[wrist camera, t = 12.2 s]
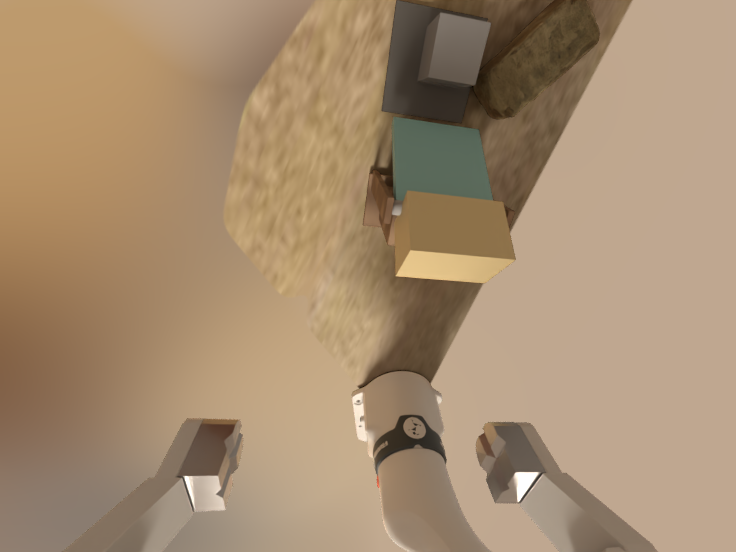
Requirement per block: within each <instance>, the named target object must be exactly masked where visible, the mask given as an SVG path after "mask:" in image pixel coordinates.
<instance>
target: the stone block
mask: <svg viewBox="0 0 736 552" xmlns="http://www.w3.org/2000/svg"><path fill="white" fill-rule="evenodd" d="M599 34H600V33H599V28H598V25H597V23H596V20H595V16H594V14H593V13H592V12H591V10H590V7H589V5H588V3H587V1H586V0H554V1H553V2H552V3H551V4H550V5H549V6H548V7H547V8H545V9H544V10H543V11H542V12H541V13H540V14H539V15H538V16H537V17H536V18H535V19H534V20H533V21H532V22H531V23H530V24H529V25H528V26H527V27H526V28H525V29H524V30H523V31H522V32H521V33H520V34H519V35H518V36H516V37H515V39H514V40H513V41H512V42H511V43H510V44H509V45H508V46H506V47H505V48H504V49H503V50H502V51H501V52H500V53H499V54H498V55H497V56H496V57H494V58H493V59H492V60H491V61H489V62H488V63H487V64H486V65H485V66H484V67H483V68H482V69H481V70H480V71H479V72H478V76H477V80H476V84H475V85H474V86H473V87H474V92H475V94H476V96H477V97H478V99H479V102H480V103H481V104H482V105H483V106H484V108H485V109H486V111H487V114H488V115H489V116H490V117H492V118H494V119H505V118H507V117H514V116H515V115H516V114H517V113H518V112H519V111H520V110H521V109H522V108H523V107H524V106H525V105H527V104H528V103H529V102H531V101H533V100H534V99H535V98H536V97H538V96H539V95H540V94H541V93H542V92H543V91H544V90H545V89H546V88H548V87H549V86H550V85H551V84H552V83H554V82H555V81H556V80H557V79H558V78H559V77H561V76H562V75H563V74H564V73H565V72H566V71H567V70H569V69H570V68H571V67H572V66H573V65H574V64H575V63H576V62H577V61H578V60H579V59H580V58H581V57H583V56H584V55H585V54H586V53H587V52H588V51H590V50H591V49H592V48H593V47H594V46H595V45H596V44H597V42H598V41H599Z"/></svg>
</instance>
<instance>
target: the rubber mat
mask: <svg viewBox="0 0 736 552" xmlns="http://www.w3.org/2000/svg"><path fill="white" fill-rule="evenodd" d="M440 13H446V14H451V15H456V16H461V17H466V18H470V19H475V20H480V21H485V22H487V20H488V19H487V18H482V17H477V16H472V15H467V14H463V13H458V12H453V11H448V10H443V9H438V8H433V7H428V6H423V5H418V4H414V3H409V2H404V1H399V0H397V1H396V7H395V15H394V22H393V30H392V37H391V45H390V52H389V60H388V67H387V75H386V82H385V90H384V97H383V105H382V111H385V112H392V113H398V114H405V115H412V116H418V117H425V118H431V119H438V120H444V121H451V122H457V123H462V119H463V115H464V111H465V107H466V104H467V100H468V96H469V92H470V88H471V86H470V87H465V88H460V89H456V88H450V87H444V86H438V85H432V84H426V83H420V82H417V80H418V74H419V68H420V63H421V57H422V51H423V46H424V40H425V34H426V29H427V26H428V25H429V24H430V23H431V22H432V21H433V20H434V19H435V18H436V17H437V16H438V15H439V14H440Z"/></svg>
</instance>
